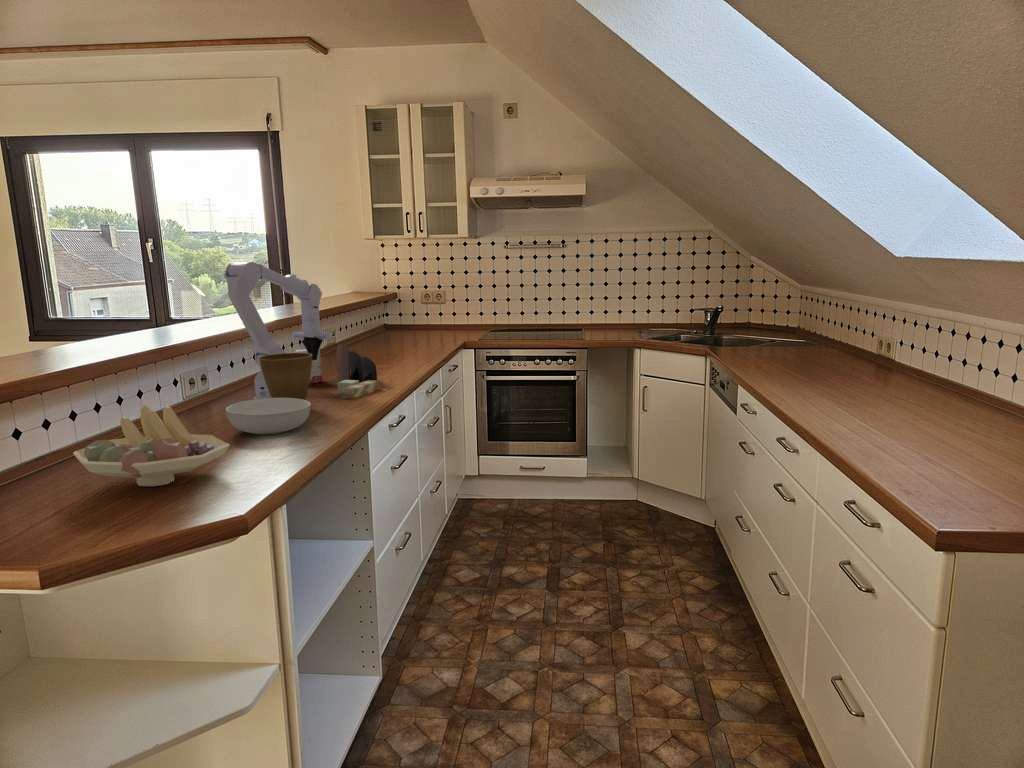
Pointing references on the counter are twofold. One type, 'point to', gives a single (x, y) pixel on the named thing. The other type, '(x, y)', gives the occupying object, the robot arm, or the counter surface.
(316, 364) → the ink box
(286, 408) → the serving bowl
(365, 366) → the letter holder
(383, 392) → the counter surface
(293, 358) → the plant pot
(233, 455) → the counter surface
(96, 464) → the dish with food
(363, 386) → the board
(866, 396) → the counter surface
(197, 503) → the counter surface
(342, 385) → the block
